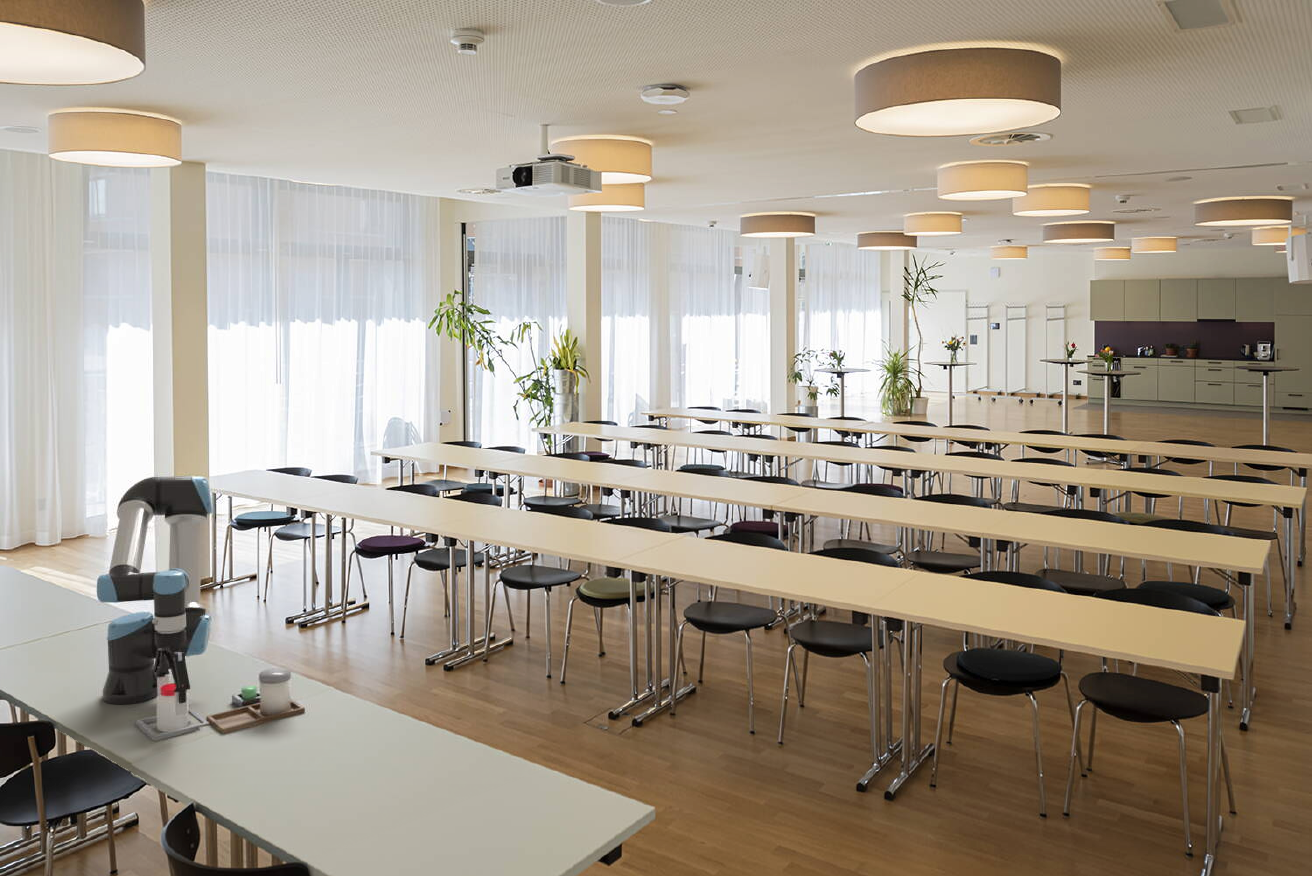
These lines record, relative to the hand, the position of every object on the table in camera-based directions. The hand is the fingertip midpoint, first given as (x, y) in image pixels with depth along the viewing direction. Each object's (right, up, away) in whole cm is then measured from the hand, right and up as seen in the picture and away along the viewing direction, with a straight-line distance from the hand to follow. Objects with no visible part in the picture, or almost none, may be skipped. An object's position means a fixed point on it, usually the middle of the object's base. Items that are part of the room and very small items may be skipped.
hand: (172, 707), depth 266 cm
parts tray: (0, -5, +1) cm, 5 cm away
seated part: (+23, -4, +11) cm, 26 cm away
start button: (+14, -3, +16) cm, 22 cm away
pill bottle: (0, -6, +1) cm, 6 cm away
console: (+14, -4, +16) cm, 22 cm away
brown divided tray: (+20, -5, +7) cm, 22 cm away
